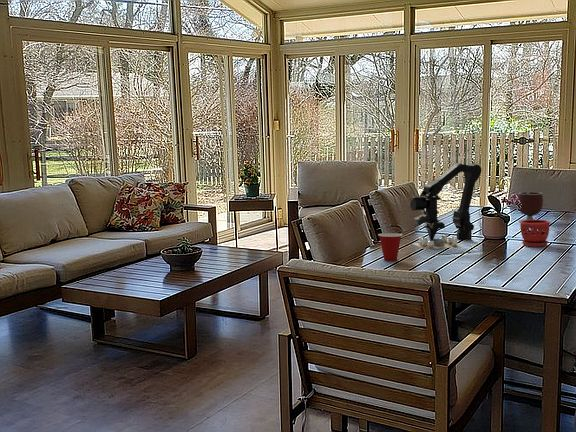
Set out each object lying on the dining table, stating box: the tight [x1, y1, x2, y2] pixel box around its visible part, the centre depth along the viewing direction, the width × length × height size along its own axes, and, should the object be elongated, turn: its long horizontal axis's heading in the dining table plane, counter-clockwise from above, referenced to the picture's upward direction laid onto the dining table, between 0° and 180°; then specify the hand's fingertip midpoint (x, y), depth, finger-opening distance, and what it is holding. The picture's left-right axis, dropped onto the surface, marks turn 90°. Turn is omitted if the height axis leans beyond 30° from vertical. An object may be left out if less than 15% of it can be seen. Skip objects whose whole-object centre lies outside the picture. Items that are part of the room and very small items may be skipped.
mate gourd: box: [517, 189, 544, 223], centre depth 375 cm, size 16×14×20 cm
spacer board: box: [412, 240, 463, 250], centre depth 313 cm, size 20×15×1 cm
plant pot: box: [519, 219, 550, 248], centre depth 310 cm, size 13×13×12 cm
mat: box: [434, 251, 472, 257], centre depth 301 cm, size 18×10×1 cm, turn 101°
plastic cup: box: [377, 232, 403, 262], centre depth 289 cm, size 11×11×12 cm
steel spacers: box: [418, 234, 458, 250], centre depth 312 cm, size 17×14×4 cm
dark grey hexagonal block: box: [432, 238, 445, 246], centre depth 313 cm, size 7×6×2 cm
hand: (431, 240), depth 320 cm, fingers closed
